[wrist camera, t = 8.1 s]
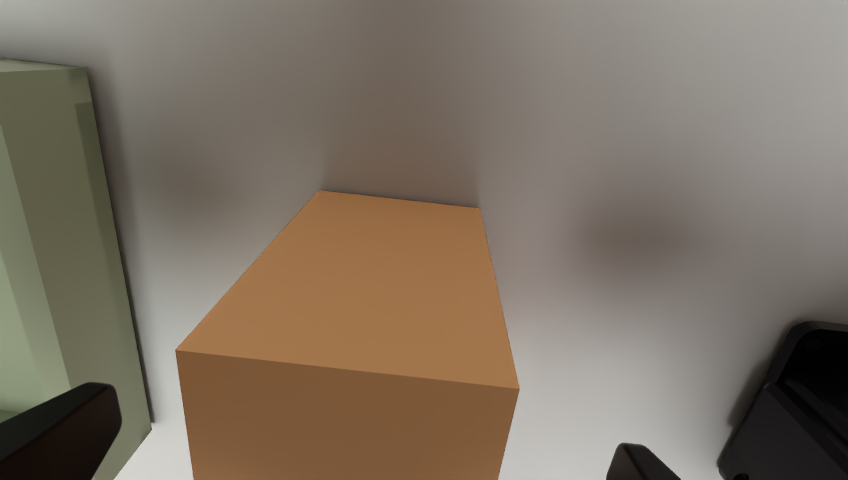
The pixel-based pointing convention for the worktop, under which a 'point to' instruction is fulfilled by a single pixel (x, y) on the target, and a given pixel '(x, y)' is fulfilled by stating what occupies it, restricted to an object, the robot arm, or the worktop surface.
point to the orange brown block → (355, 351)
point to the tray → (61, 255)
